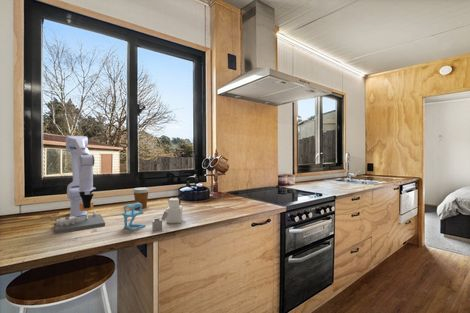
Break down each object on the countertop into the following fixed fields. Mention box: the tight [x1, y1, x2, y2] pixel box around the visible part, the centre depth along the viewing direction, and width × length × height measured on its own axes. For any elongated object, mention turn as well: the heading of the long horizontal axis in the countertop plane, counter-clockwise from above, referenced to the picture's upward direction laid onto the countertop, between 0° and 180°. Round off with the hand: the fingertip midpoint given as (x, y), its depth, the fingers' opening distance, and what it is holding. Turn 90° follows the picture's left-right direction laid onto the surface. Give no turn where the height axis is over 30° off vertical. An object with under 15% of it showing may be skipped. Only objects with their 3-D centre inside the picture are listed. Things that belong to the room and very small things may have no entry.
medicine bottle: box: [165, 196, 183, 224], centre depth 122 cm, size 7×7×12 cm
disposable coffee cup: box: [132, 186, 150, 210], centre depth 149 cm, size 10×10×12 cm
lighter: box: [151, 210, 168, 232], centre depth 110 cm, size 7×2×8 cm, turn 125°
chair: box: [122, 202, 146, 232], centre depth 111 cm, size 8×8×12 cm
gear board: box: [55, 210, 106, 234], centre depth 115 cm, size 18×19×4 cm
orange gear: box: [79, 200, 94, 212], centre depth 116 cm, size 6×6×4 cm
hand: (86, 206), depth 116 cm, fingers closed on orange gear, 6 cm apart
